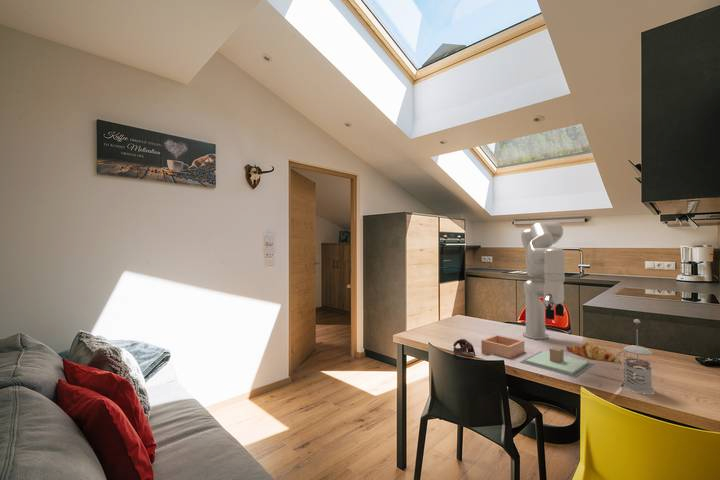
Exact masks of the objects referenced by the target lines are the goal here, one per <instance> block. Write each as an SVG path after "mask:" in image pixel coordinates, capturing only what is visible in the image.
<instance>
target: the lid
mask: <svg viewBox="0 0 720 480" xmlns="http://www.w3.org/2000/svg"><path fill="white" fill-rule="evenodd" d="M564 350H565V349H564V348H558V347H554V346H552V347H550V348H549V352H548V351H545V350H542V352H541V351H540V352H541V353H539V352H538V353H539V354H537V353H536V354H537V355H535V354H534V355H535V356H533V355H532V356H533V357H531V356H530V357H531V358H529V357H528V358H529V359H527V358H526V359H527V360H526V363H530V364H534V365H537V366H541V367H545V368H549V369H552V370H556V371H560V372H564V373H567V374H571V375H573V374H574V373H576V372H577V371H579V370H580V369H582V368H583V367H584V366H586V365H587V364H588V362H589V361H587V360H584V359H579V358H575V357H571V356H570V357H569V356H566V355H565V353H564Z"/></svg>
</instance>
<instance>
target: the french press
mask: <svg viewBox="0 0 720 480" xmlns="http://www.w3.org/2000/svg"><path fill="white" fill-rule="evenodd" d="M633 323H635V324H641V321H640V319H637V318H636V319H633ZM638 332H639V331H638V330H636V345H633V344H632V345H626V346H625V347H623V348H622V349H623V350H621V351H618V352H617V354H616V355H615V356H616V362H615V363H616V365H617V367H618V368H619V369H620V370H621V371H623V383H622V384H621V385H620V387H621V386H622V387H621V388H623V389H624V388H625V389H624V390H626V389H628V390H627V391H629V390H630V391H629V392H632V391H634V392H633V393H635V392H638V393H637V394H640V393H645V394H644V395H653V394H652V393H654V392H656V390H655V389H654V388H653V387H652V383H653V382H652V381H653V380H652V367H651V366H650V365H651V363H650V362H649V361H648V360H644V359H639V356H650V355H652V354H653V352H652V351H651V350H649V349H648V348H646V347H645V346H640V345H639V344H638V343H639V341H638V338H639V337H638ZM622 353H623V355H624V356H626V355H628V353H630V354H634V355H636V358H633V357H628V358H624V361H625V362H624V363H623V365H622V364H621V362H620V360H621V359H620V360H619V364H618V363H617V358H618V357H620V356H621V354H622ZM619 365H620V366H619ZM641 367H642V368H641ZM654 390H655V391H654ZM654 394H655V393H654Z"/></svg>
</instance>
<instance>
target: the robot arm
mask: <svg viewBox="0 0 720 480" xmlns="http://www.w3.org/2000/svg"><path fill="white" fill-rule="evenodd" d="M563 234H564V228H563V226H562V224H561V223H560V222H558V221H549V222H547V221H545V222H544V221H543V222H535V223H534V224H532V225H531V227H530V228H528V229H524V230H522V232H521V233H520V236H521V239H520V240H521V243H522V246H523V248H524V250H525V251H524V252H525V269H526V270H525V271H526V274H527V276H528V277H532V278H544V279H528V280H526V281H525V282H524V283H523V291H524V299H525V331H523V333H522V336H523V337H525V338H528V339H531V340H532V339H533V340H547V339H549V335H548V334H547V333H546V331H547V330H548V329H547V327H546V319H547V320H553V321H554V320H555V316H559V317H564V316H565V311H564V308H565V307H564V306H565V286H564V282H566V281H565V279H566V278H565V268H566V267H565V259H566V256H565V251H564V249H561V248H559V247H552V246H553V245H554V244H555V245H556V244H557V243H558V242H559V241H560V240H561V238H562V237H563V236H564V235H563ZM540 298H543V301H542V299H540ZM554 308H555V309H554Z"/></svg>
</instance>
